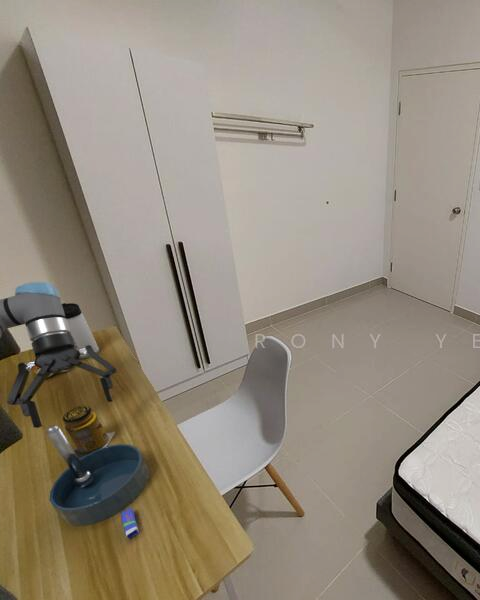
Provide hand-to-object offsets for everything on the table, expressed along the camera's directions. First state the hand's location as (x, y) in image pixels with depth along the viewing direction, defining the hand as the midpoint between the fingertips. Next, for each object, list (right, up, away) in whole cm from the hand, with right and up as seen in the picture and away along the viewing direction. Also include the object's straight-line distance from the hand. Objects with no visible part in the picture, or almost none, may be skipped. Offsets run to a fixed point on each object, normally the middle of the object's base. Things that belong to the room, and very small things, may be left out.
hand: (75, 413), depth 83 cm
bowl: (+13, -16, -6) cm, 22 cm away
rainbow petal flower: (-35, +5, +29) cm, 46 cm away
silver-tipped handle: (+8, -15, -6) cm, 18 cm away
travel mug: (-32, +9, +37) cm, 50 cm away
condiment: (0, -11, +4) cm, 11 cm away
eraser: (+24, -21, -12) cm, 34 cm away
